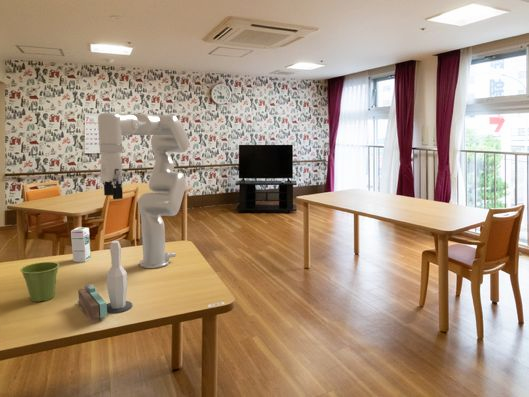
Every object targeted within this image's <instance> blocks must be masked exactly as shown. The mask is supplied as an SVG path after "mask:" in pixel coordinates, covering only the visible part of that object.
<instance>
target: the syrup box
mask: <svg viewBox="0 0 529 397" xmlns="http://www.w3.org/2000/svg"><path fill="white" fill-rule="evenodd" d="M70 239H71V251H72V261H73V262H74V263H76V262H77V263H86V262H88V261H89V260H90V259H92V250H91V239H90V228H89V227H84V226H80V227H76V228H74V229H72V230H70Z"/></svg>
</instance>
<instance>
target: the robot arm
mask: <svg viewBox="0 0 529 397" xmlns="http://www.w3.org/2000/svg"><path fill="white" fill-rule="evenodd" d="M97 123H98V125H97V126H98V127H97V128H98V129H97V130H98V142H99V143H98V144H99V154H100V179H101V180H102V181H103V193H104V196H112V199H113V200H121V199H123V195H124V193H123V166H122V163H123V162H122V155H121V154H123V139H122V138H123V136H122V135H131V136H152V137H151V141H150V145H151V149H152V151H153V155H154V161H155V162H154V166H153V169H152V172H151V175H150V176H149V177H150V178H149V181H148V188H149V190H150V191H151V192H145V193H143V194H141V195H140V196H139V198H138V204H137V205H138V210H139V213H140V220H141V235H142V238H141V239H142V243H141V244H142V259H141V260H139V263H138V264H139V266H140V267H141V268H145V269H159V268H163V266H164V267H166V266H168V265H169V264H170V260H169V259H170V258H176V256H177V255H176V252H170V251H169V252H166V231H165V230H166V229H165V228H166V227H165V222H164V221H165V220H163V218H162V216H163V217H164V216H165V217H173V216H176V215H177V214H179V212H180V209H181V205H182V201H183V198H184V195H185V191H186V185H187V181H186V176H185V175H184V174H183V173H181V172H178V171H174V168H175V163H174V161H173V159H172V157H171V156H170V155H169V153H179V154H180V153H185V152H186V151H187V150H188V149H189V147H190V146H189V145H190V141H189V137H188V135H187V133H186V131H185V129H184V127H183V125H182V123H181V121H180V119H179V118H177V116H176V115H174V114H149V113H112V112H111V113H109V112H107V113H106V112H105V113H102V112H101V113H100V114H99V115H97Z"/></svg>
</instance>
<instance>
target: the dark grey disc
mask: <svg viewBox="0 0 529 397" xmlns="http://www.w3.org/2000/svg"><path fill="white" fill-rule="evenodd" d="M132 307H133V303H132V302H131V301H129V300H126V305H125V306H124V307H123V308H119V309H114V308H111V304H110V302H109V303H107V314H108V313H109V314H120V313H124V312H127V311H129V310H131V309H132Z"/></svg>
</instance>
